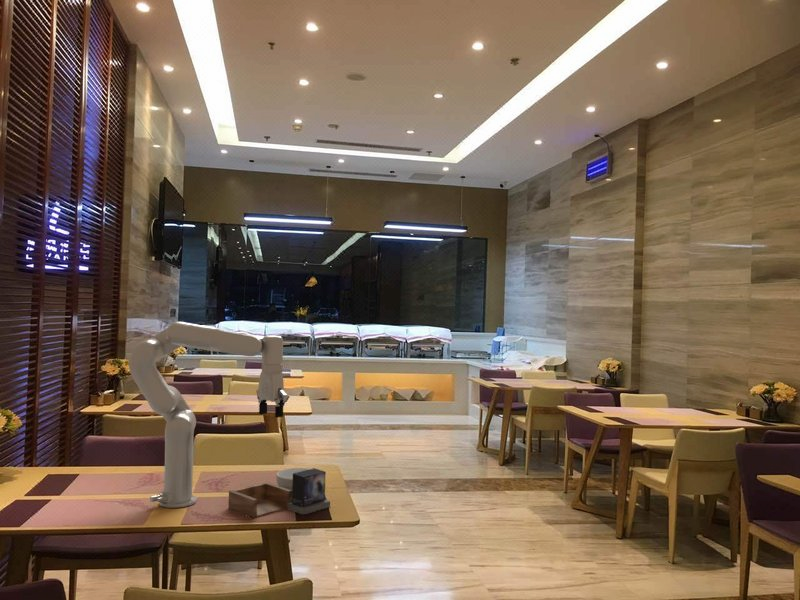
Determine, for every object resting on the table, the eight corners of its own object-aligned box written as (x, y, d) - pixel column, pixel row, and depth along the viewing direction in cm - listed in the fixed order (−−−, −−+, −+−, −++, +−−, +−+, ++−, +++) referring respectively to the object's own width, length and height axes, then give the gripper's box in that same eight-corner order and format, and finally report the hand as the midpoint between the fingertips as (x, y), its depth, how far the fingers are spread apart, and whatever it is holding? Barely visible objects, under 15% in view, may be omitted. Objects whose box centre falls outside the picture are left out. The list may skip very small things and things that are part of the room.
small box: (303, 507, 206) (304, 476, 207) (290, 503, 211) (291, 473, 211) (325, 500, 215) (326, 470, 215) (313, 496, 219) (313, 467, 219)
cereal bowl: (300, 501, 220) (301, 481, 221) (266, 493, 229) (267, 474, 229) (329, 490, 235) (329, 471, 235) (296, 483, 244) (296, 465, 244)
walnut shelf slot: (252, 518, 201) (253, 500, 201) (228, 508, 210) (228, 491, 210) (291, 507, 213) (291, 490, 213) (266, 498, 222) (267, 482, 222)
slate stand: (303, 514, 205) (303, 508, 205) (286, 508, 211) (287, 503, 211) (330, 507, 214) (330, 501, 214) (313, 501, 220) (313, 495, 220)
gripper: (249, 367, 227) (248, 413, 227) (278, 371, 216) (277, 419, 215) (266, 366, 233) (265, 411, 232) (294, 370, 221) (293, 417, 221)
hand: (270, 415), depth 224 cm, fingers open, 9 cm apart
